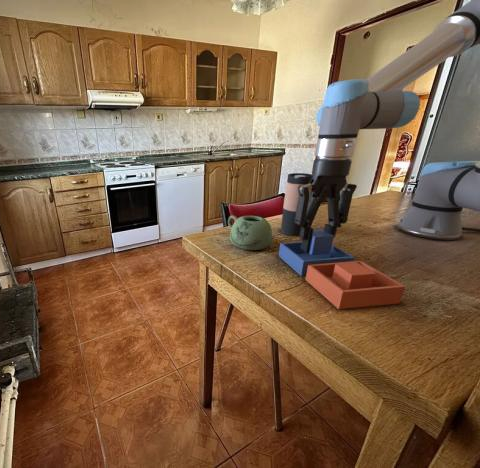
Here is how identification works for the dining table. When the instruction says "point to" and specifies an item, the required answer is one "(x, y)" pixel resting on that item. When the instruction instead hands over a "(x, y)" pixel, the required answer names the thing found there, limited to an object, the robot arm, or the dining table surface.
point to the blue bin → (309, 257)
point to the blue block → (320, 242)
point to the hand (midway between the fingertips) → (314, 249)
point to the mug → (250, 232)
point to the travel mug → (293, 202)
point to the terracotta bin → (379, 293)
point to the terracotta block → (352, 276)
